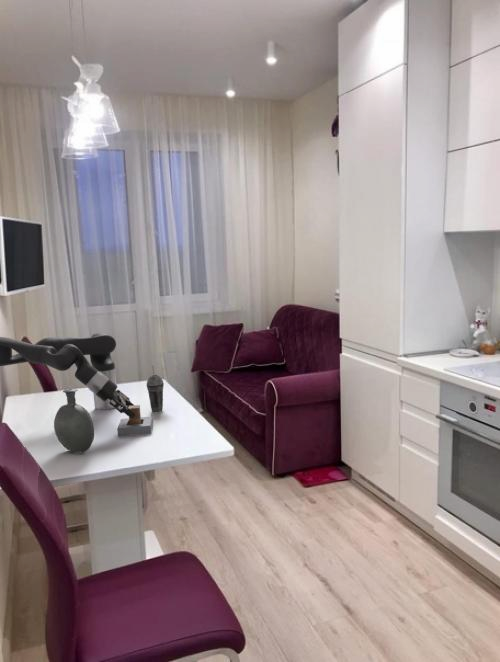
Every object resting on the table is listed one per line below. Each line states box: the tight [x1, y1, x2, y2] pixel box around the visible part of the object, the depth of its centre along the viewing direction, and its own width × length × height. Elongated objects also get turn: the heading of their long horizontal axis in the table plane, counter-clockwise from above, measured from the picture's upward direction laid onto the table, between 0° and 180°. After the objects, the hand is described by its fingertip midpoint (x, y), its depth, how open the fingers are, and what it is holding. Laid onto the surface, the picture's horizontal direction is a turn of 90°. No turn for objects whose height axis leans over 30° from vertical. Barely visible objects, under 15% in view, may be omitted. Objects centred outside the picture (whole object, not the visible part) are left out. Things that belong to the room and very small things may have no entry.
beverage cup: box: [146, 365, 164, 413], centre depth 222 cm, size 7×7×20 cm
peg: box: [128, 404, 142, 425], centre depth 199 cm, size 4×4×9 cm
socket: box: [116, 415, 154, 437], centre depth 199 cm, size 12×12×3 cm
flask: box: [53, 388, 95, 454], centre depth 177 cm, size 12×17×22 cm
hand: (135, 413), depth 198 cm, fingers open, 8 cm apart
